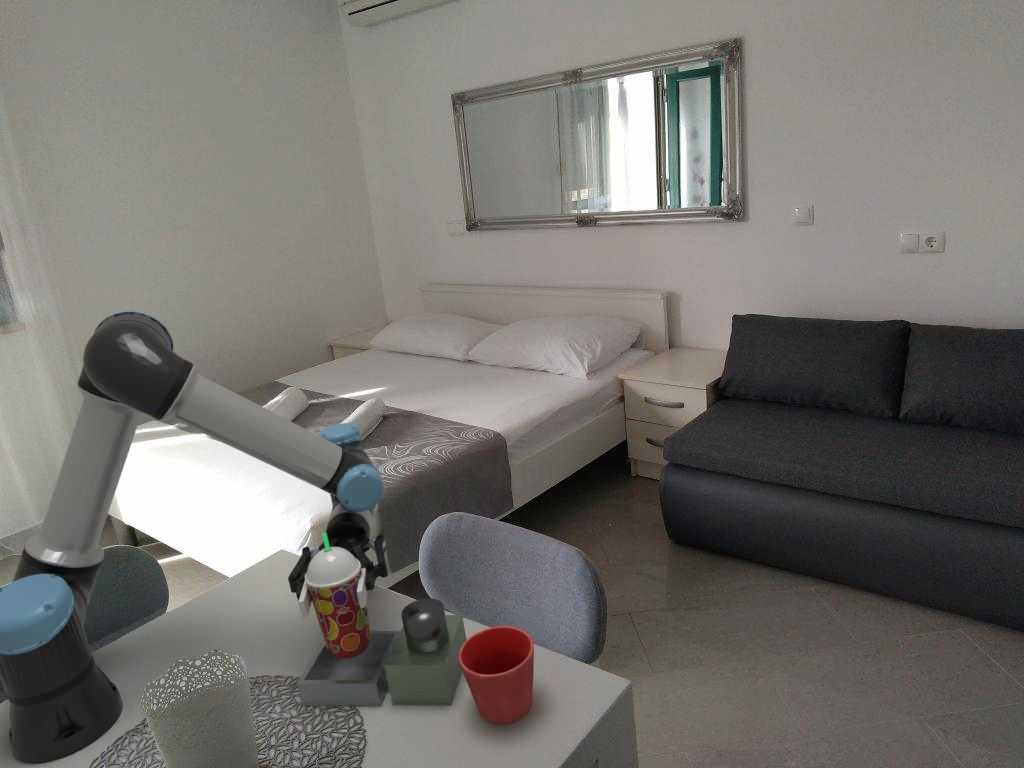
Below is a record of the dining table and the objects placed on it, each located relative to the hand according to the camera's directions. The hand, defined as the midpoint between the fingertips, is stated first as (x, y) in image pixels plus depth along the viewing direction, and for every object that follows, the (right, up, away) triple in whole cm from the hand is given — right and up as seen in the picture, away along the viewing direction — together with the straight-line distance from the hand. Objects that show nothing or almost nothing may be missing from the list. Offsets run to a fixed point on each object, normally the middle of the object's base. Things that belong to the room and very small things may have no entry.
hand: (332, 604), depth 110 cm
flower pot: (+25, -14, -1) cm, 29 cm away
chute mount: (+7, -14, +8) cm, 17 cm away
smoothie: (+1, -9, +8) cm, 12 cm away
